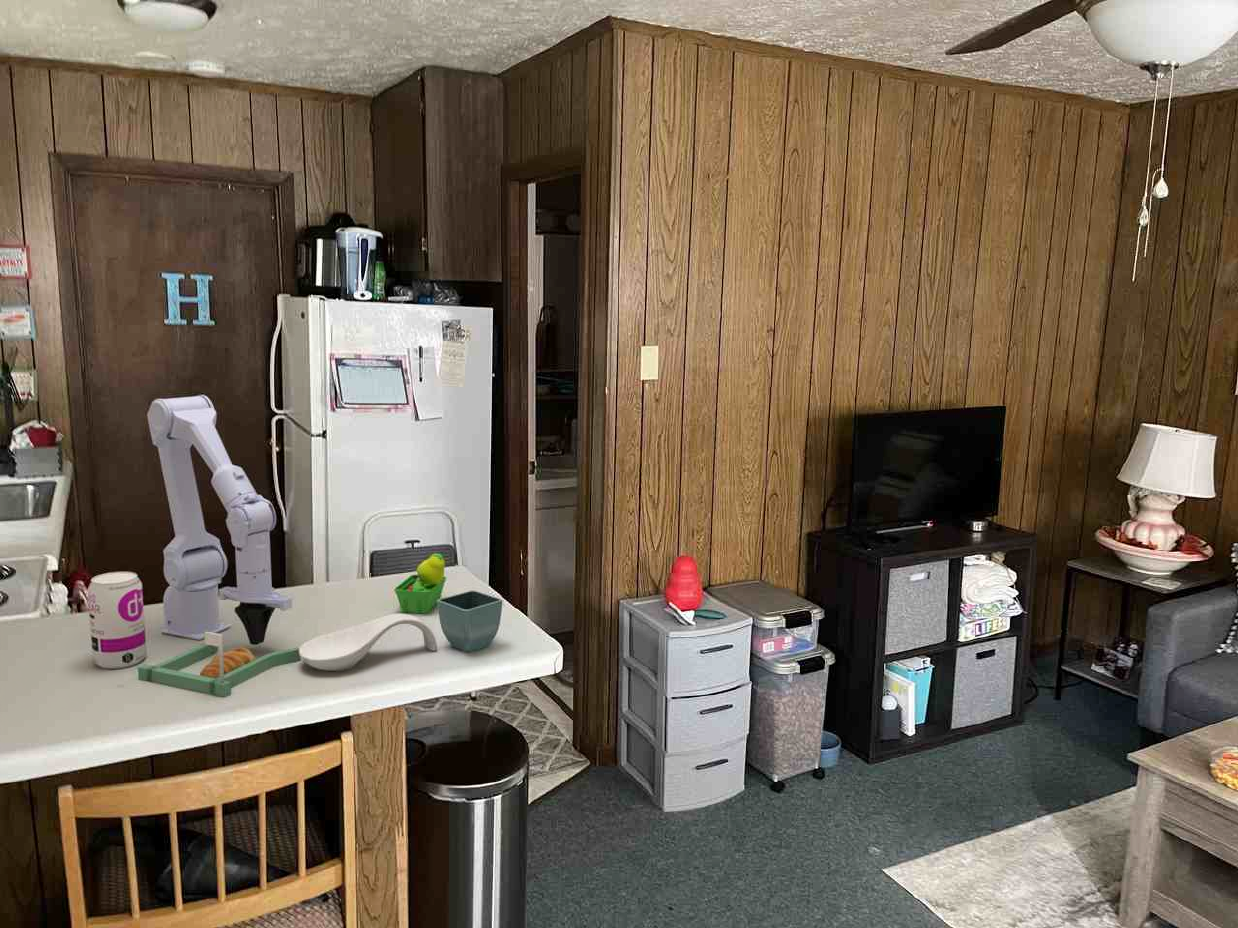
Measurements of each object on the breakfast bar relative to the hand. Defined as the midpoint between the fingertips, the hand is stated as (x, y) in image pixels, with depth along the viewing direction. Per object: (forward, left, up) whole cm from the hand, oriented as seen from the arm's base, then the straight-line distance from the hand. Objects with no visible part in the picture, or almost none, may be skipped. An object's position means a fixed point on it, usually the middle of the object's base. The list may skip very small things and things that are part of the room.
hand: (257, 642), depth 175 cm
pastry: (+3, -10, -2) cm, 11 cm away
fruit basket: (+13, +34, -2) cm, 36 cm away
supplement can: (-18, -13, -2) cm, 22 cm away
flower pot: (+33, +18, -2) cm, 38 cm away
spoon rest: (+20, +5, -2) cm, 21 cm away
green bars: (0, -9, -2) cm, 9 cm away
